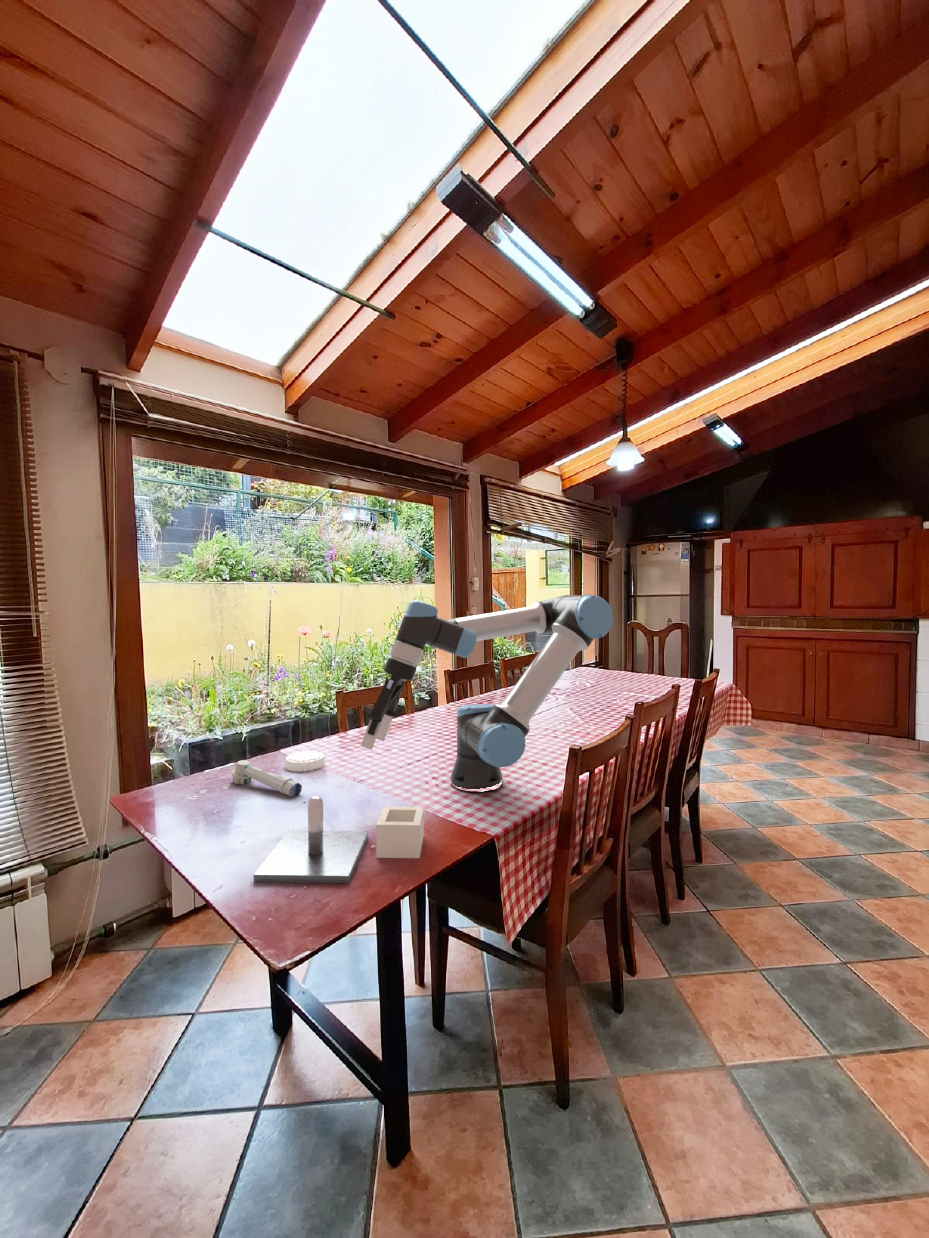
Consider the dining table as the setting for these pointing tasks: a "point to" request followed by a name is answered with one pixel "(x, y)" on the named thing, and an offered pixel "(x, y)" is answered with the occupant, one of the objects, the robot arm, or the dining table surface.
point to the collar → (400, 832)
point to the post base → (313, 865)
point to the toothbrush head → (265, 778)
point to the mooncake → (304, 761)
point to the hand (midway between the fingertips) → (372, 743)
